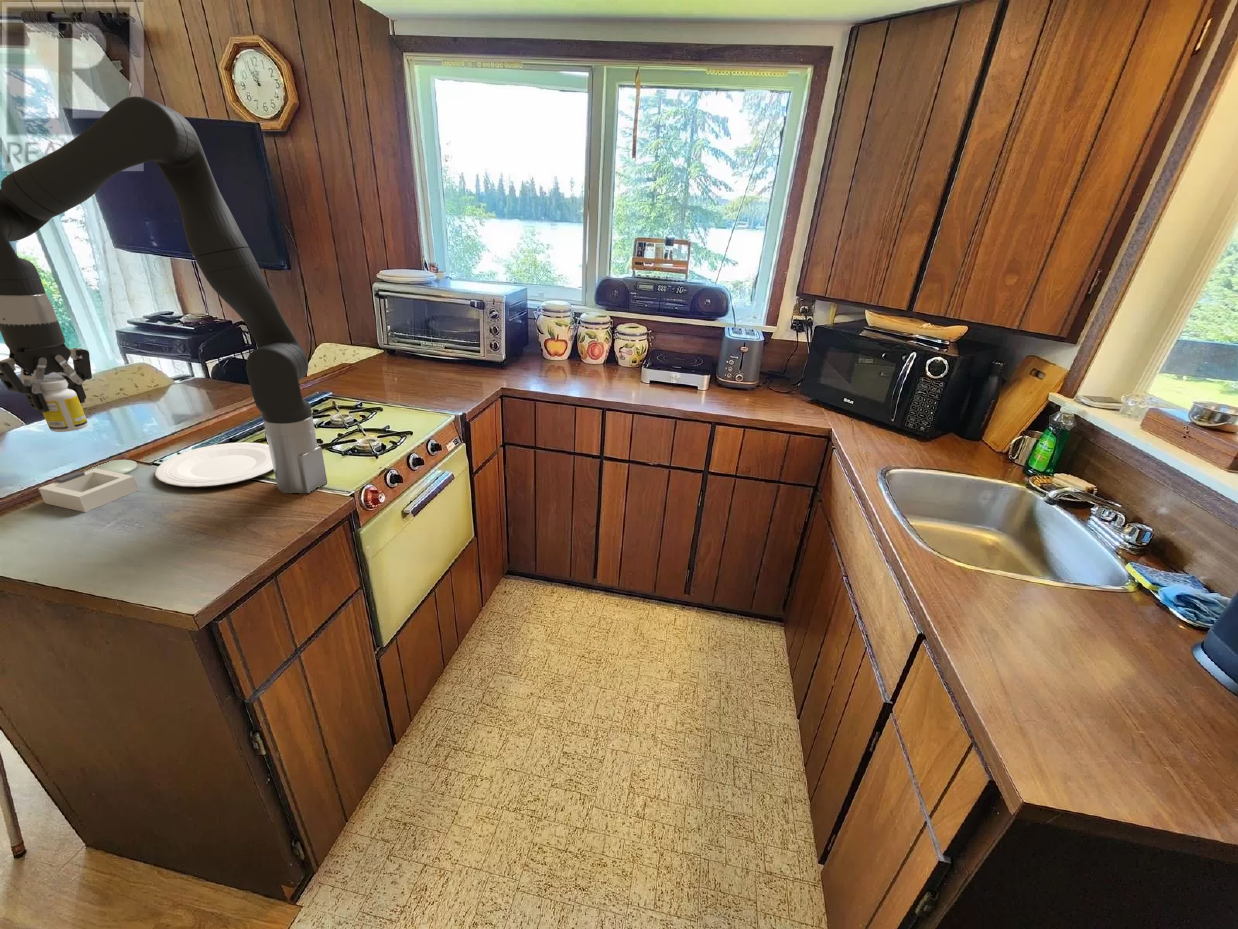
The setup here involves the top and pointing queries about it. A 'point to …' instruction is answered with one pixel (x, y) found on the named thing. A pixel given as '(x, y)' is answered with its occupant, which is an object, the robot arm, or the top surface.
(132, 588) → the top surface
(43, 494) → the shallow beige tray
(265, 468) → the plate
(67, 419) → the supplement bottle
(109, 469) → the coaster
